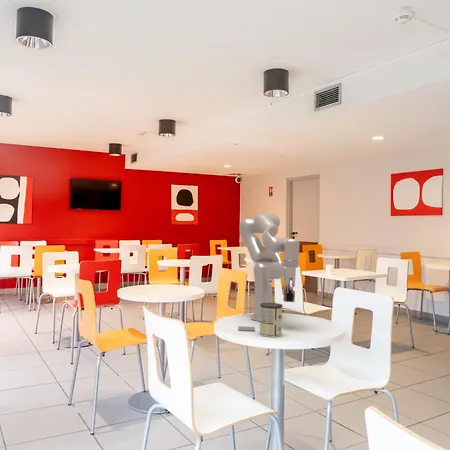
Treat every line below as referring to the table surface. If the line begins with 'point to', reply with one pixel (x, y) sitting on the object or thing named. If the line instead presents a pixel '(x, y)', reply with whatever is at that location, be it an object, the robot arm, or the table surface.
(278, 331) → the coffee can
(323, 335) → the table surface
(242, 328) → the slate coaster
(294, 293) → the walnut block
